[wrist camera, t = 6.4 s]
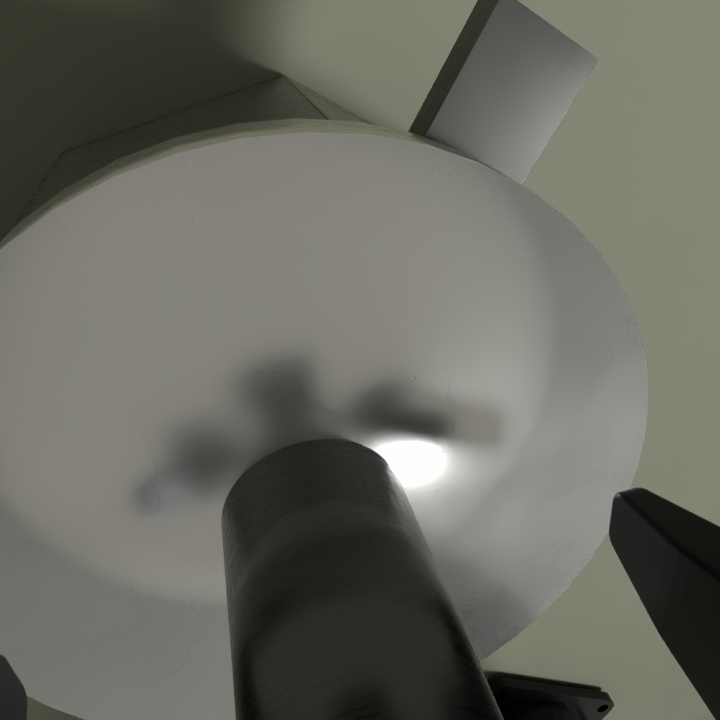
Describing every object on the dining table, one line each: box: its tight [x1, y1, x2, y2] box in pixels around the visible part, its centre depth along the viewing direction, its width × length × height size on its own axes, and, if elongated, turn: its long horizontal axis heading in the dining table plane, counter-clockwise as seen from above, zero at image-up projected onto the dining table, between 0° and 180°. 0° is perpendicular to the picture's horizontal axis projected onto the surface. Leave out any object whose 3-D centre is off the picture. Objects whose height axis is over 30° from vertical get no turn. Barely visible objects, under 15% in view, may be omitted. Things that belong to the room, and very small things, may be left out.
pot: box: [10, 0, 598, 231], centre depth 14 cm, size 11×16×5 cm
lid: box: [0, 118, 649, 720], centre depth 10 cm, size 12×12×6 cm
